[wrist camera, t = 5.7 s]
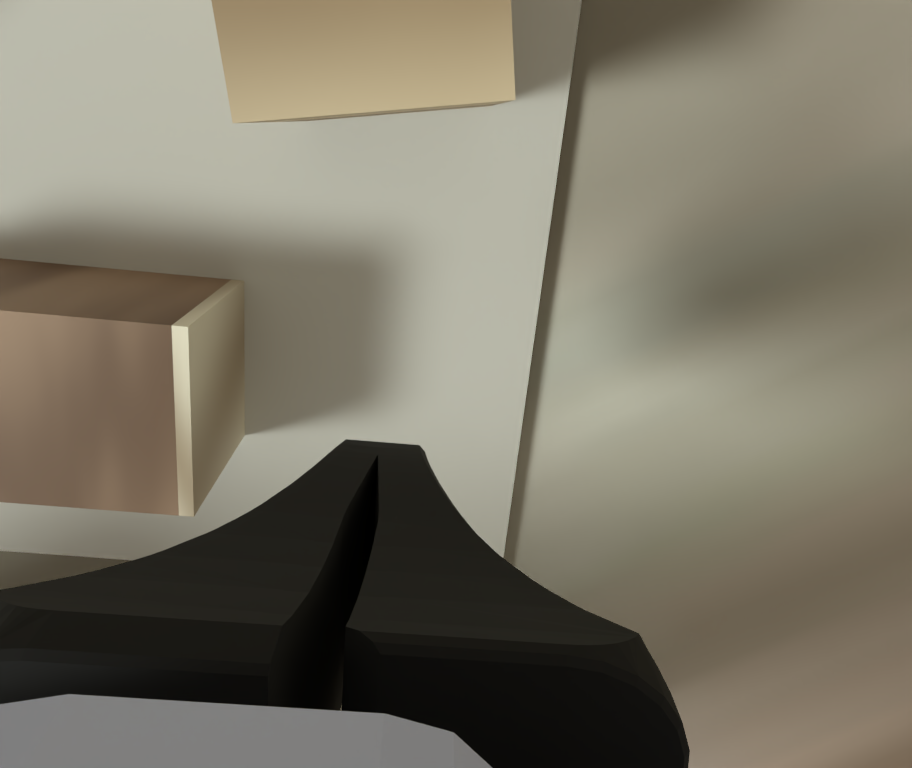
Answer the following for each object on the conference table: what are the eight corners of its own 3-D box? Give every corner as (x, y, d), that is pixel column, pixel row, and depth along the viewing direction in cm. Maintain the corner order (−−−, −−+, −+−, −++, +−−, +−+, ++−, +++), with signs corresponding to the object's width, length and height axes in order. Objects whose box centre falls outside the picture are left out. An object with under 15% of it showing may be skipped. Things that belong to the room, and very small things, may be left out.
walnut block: (193, 516, 15) (-191, 487, 14) (244, 435, 18) (-60, 410, 18) (187, 327, 13) (-239, 289, 13) (244, 280, 17) (-85, 250, 17)
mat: (498, 578, 20) (499, 586, 20) (-85, 535, 20) (-96, 543, 19) (604, -188, 14) (609, -196, 14) (-237, -294, 14) (-257, -306, 13)
